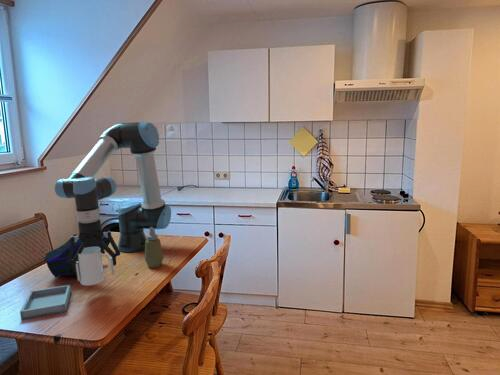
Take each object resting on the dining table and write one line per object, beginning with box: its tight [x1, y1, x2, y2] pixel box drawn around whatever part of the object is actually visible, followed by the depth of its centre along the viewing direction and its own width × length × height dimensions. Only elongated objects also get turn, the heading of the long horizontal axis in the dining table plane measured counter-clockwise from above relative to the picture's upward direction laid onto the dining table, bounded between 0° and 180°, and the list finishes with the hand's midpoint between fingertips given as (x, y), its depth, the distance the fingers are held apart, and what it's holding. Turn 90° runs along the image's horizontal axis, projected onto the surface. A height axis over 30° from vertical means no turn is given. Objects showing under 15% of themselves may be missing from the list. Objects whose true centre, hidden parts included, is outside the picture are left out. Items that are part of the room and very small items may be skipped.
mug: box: [78, 247, 111, 286], centre depth 139 cm, size 12×8×12 cm
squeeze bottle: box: [144, 227, 164, 269], centre depth 168 cm, size 8×8×18 cm
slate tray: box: [19, 284, 72, 321], centre depth 136 cm, size 14×17×3 cm
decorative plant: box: [44, 233, 114, 278], centre depth 160 cm, size 21×26×30 cm
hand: (96, 276), depth 140 cm, fingers closed on mug, 11 cm apart
